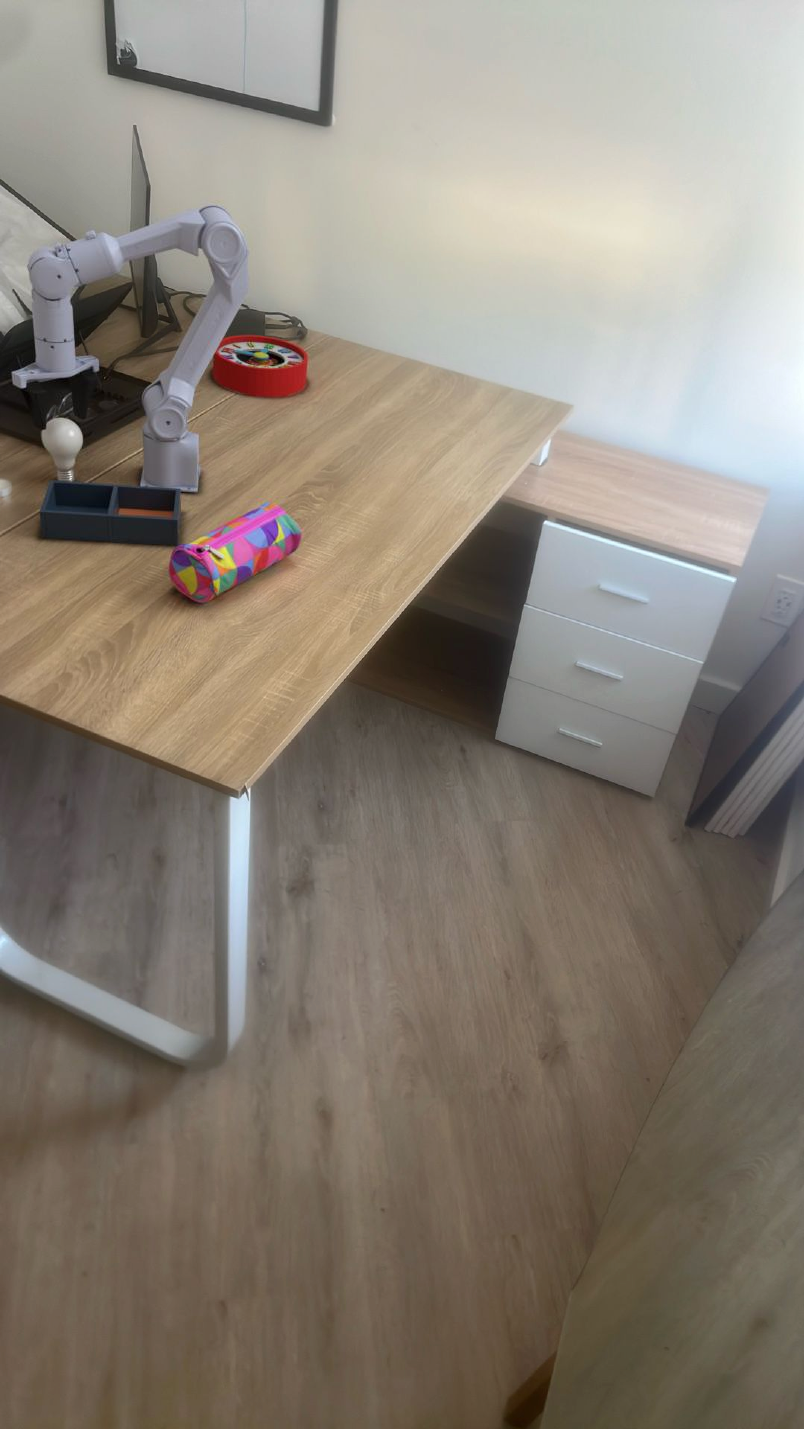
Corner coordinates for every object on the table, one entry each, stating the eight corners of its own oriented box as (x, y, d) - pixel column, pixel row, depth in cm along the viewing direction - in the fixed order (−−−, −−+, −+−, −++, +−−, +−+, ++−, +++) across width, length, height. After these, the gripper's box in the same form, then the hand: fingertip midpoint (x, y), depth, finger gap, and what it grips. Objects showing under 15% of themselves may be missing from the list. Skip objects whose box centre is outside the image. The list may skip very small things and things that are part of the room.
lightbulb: (94, 481, 160) (89, 419, 153) (68, 495, 155) (63, 431, 148) (64, 470, 161) (58, 407, 154) (37, 483, 157) (30, 419, 150)
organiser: (180, 513, 156) (180, 488, 153) (177, 545, 148) (177, 520, 145) (52, 505, 152) (49, 479, 149) (42, 538, 144) (39, 511, 141)
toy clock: (296, 376, 194) (200, 358, 194) (294, 404, 197) (200, 386, 198) (316, 346, 209) (228, 329, 209) (314, 372, 213) (227, 355, 213)
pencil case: (211, 618, 134) (212, 563, 128) (161, 592, 137) (160, 538, 131) (303, 562, 149) (308, 510, 144) (256, 540, 152) (259, 489, 147)
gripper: (76, 320, 150) (81, 404, 158) (-5, 335, 140) (5, 423, 148) (106, 335, 147) (109, 419, 155) (25, 351, 137) (33, 439, 146)
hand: (60, 422), depth 152 cm, fingers open, 7 cm apart
